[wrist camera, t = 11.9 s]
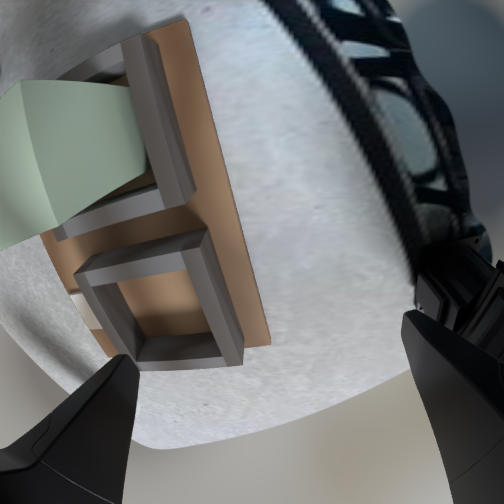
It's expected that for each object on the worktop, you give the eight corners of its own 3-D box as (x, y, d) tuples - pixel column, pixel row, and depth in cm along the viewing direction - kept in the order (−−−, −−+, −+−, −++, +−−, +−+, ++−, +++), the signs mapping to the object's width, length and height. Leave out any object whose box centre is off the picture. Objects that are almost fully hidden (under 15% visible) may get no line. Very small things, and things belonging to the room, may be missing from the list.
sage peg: (133, 88, 14) (19, 80, 5) (155, 166, 17) (58, 226, 8) (69, 120, 15) (-43, 146, 6) (90, 190, 17) (-10, 255, 8)
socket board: (188, 22, 13) (171, 2, 10) (271, 338, 24) (271, 371, 20) (11, 120, 15) (-19, 127, 12) (110, 352, 26) (97, 378, 23)
